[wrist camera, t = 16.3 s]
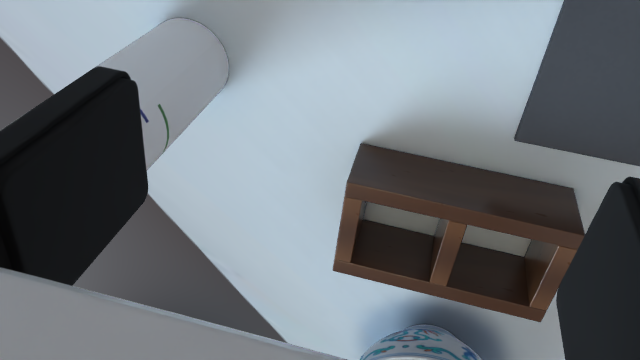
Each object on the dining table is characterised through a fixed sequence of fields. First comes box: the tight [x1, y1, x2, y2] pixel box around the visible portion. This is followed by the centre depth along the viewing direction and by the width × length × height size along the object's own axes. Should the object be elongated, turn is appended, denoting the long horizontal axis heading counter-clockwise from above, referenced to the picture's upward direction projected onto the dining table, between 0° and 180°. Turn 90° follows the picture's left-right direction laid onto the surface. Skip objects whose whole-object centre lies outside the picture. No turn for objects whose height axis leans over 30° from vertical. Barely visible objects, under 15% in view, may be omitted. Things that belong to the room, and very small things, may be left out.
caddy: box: [333, 143, 585, 322], centre depth 45 cm, size 9×17×6 cm, turn 84°
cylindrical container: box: [0, 18, 229, 171], centre depth 35 cm, size 7×7×25 cm
